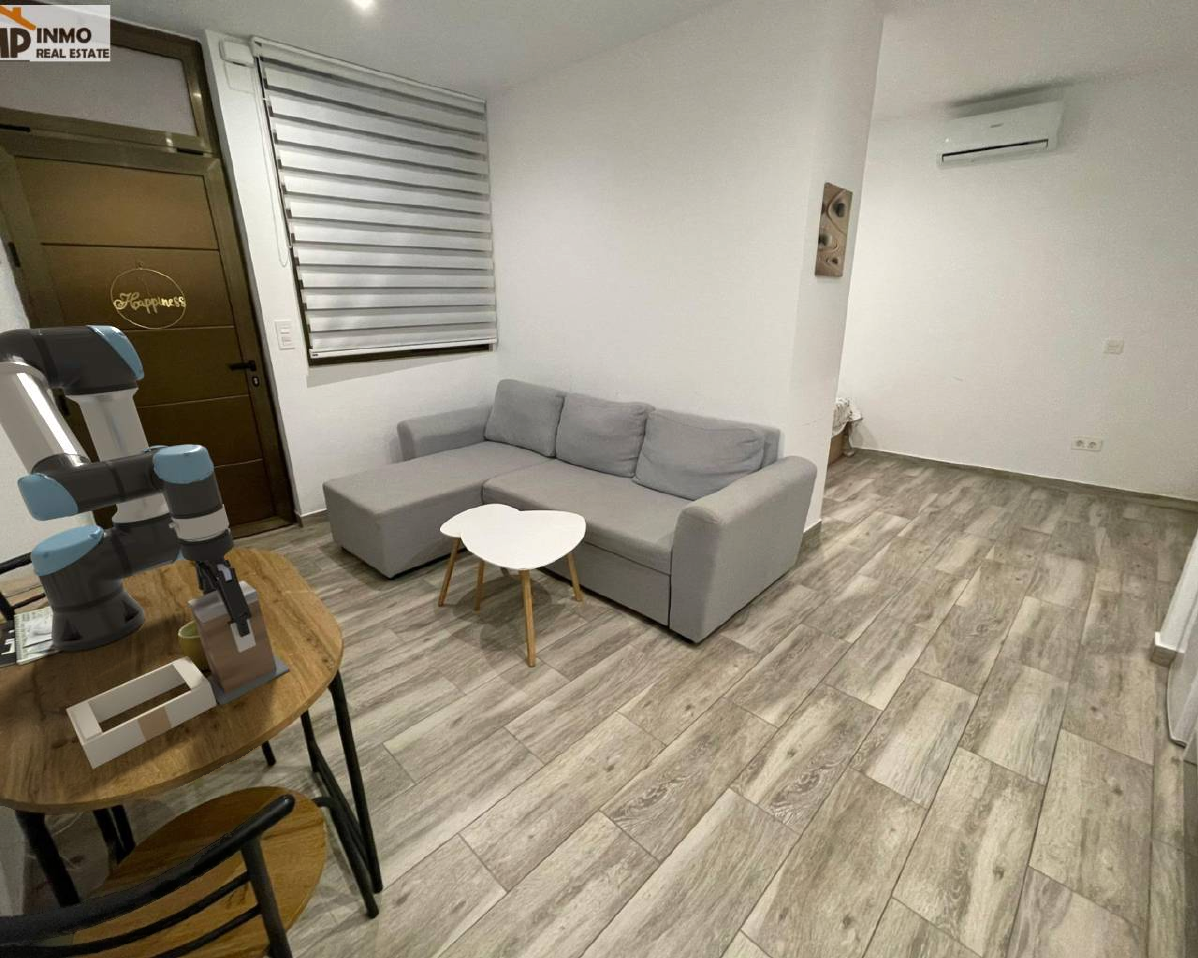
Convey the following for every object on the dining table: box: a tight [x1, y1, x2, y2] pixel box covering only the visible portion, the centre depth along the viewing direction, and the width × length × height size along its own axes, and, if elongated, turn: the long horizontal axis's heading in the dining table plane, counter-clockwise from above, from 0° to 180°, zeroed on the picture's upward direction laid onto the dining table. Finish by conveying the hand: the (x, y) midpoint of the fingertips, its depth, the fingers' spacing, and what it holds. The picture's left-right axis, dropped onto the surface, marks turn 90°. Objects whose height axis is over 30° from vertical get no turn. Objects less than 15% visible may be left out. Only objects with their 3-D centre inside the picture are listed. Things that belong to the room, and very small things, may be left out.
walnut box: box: [187, 580, 277, 694], centre depth 100 cm, size 6×9×18 cm
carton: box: [65, 656, 218, 770], centre depth 92 cm, size 12×17×5 cm
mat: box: [205, 652, 291, 706], centre depth 103 cm, size 10×12×1 cm
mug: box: [177, 620, 210, 672], centre depth 108 cm, size 12×10×10 cm
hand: (234, 635), depth 100 cm, fingers open, 11 cm apart
